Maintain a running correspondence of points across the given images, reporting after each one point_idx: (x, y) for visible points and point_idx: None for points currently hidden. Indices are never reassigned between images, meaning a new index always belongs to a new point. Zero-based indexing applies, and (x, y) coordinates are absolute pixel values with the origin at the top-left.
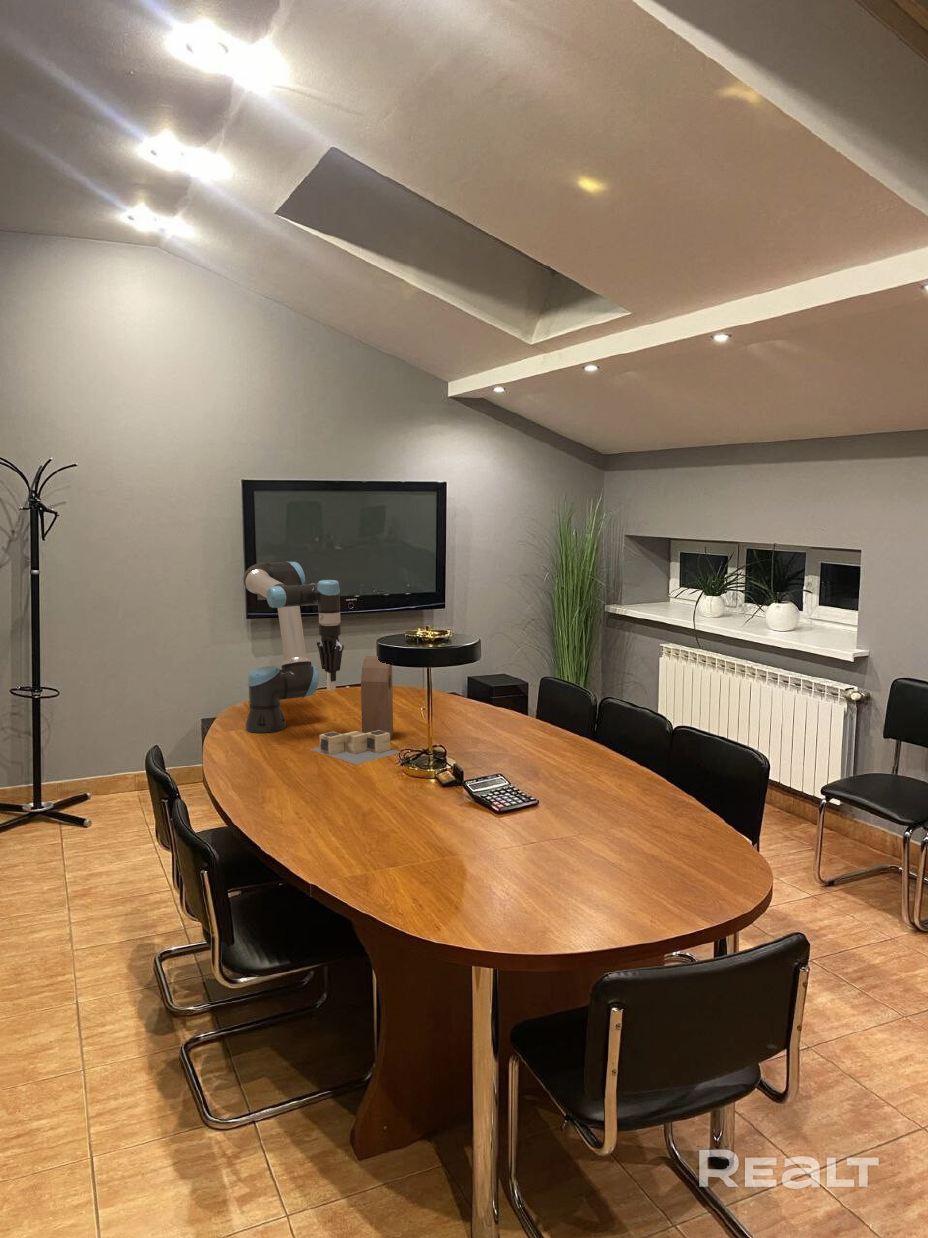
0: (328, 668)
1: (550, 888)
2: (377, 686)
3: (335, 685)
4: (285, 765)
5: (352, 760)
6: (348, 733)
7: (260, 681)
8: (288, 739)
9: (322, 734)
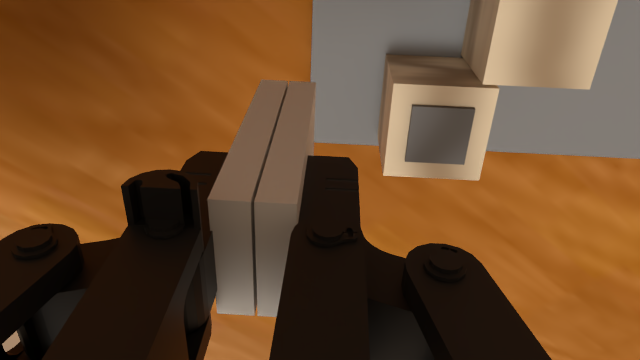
0: (184, 315)
1: None
2: None
3: (311, 104)
4: None
5: (611, 132)
6: (505, 52)
7: None
8: (58, 78)
9: (390, 161)
